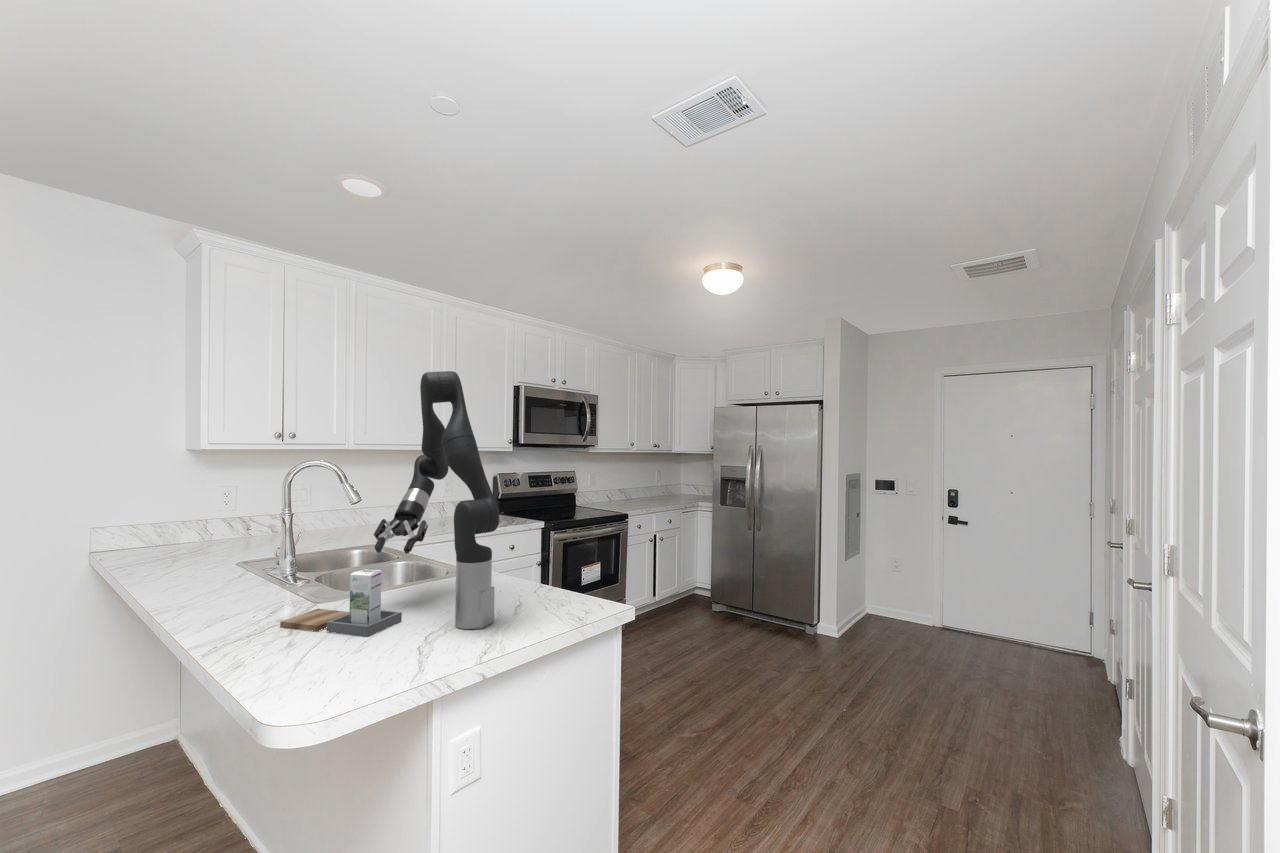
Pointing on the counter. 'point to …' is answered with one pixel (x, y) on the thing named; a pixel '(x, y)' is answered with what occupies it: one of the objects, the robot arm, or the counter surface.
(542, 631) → the counter surface
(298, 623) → the walnut board
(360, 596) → the syrup box
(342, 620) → the frame
